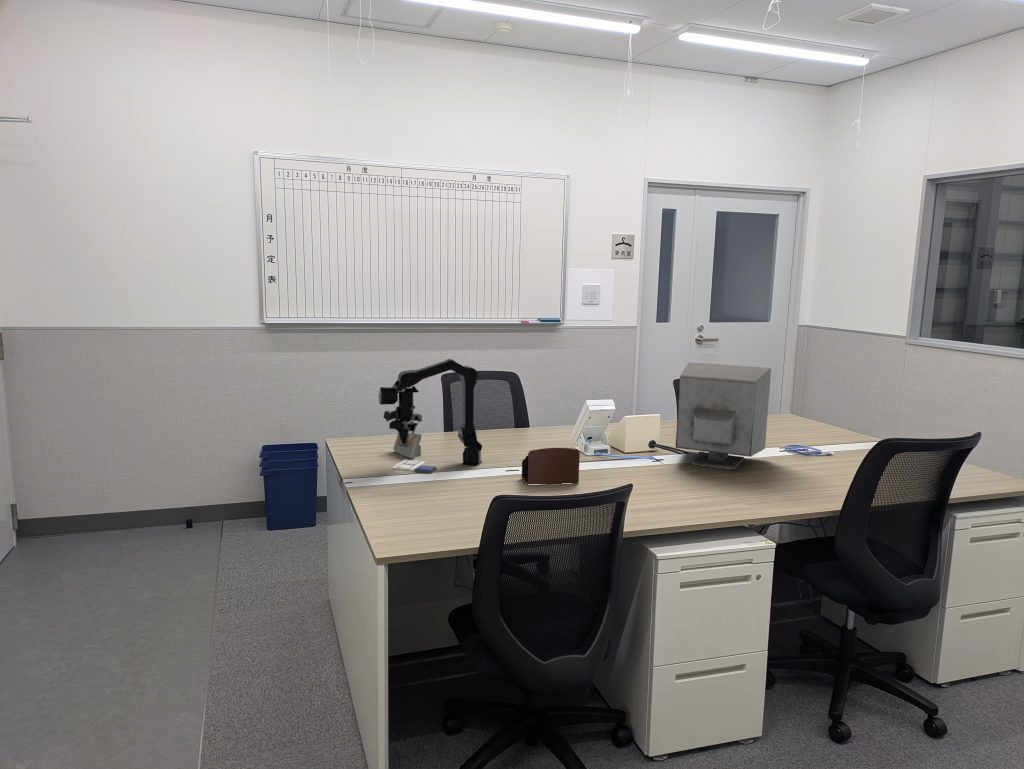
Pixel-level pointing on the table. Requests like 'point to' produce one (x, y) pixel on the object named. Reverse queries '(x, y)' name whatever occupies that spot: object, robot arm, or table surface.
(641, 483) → the table surface
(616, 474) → the table surface
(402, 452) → the digital clock
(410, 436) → the beige block
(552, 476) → the letter holder
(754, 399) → the crt monitor
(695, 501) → the table surface
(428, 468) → the ink pad
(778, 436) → the table surface
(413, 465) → the sheet
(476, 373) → the robot arm
